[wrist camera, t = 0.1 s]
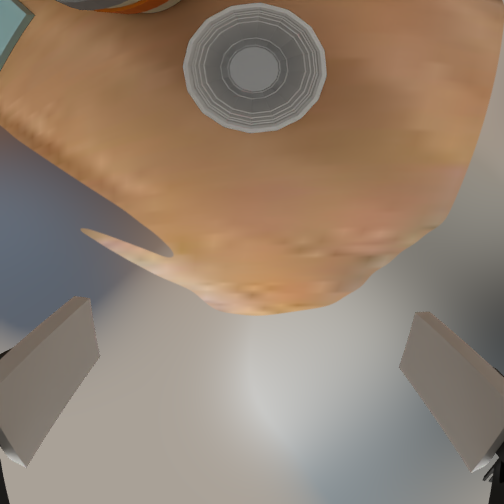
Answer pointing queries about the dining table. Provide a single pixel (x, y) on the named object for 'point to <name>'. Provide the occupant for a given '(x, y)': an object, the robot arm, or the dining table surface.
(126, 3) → the reusable coffee cup
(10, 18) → the tray
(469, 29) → the dining table surface
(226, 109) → the plastic cup
